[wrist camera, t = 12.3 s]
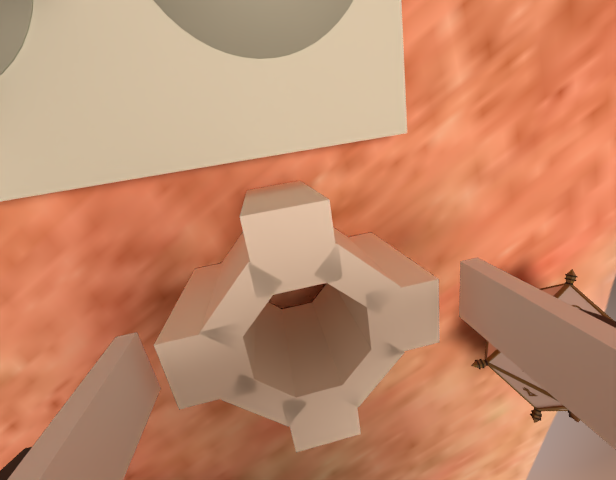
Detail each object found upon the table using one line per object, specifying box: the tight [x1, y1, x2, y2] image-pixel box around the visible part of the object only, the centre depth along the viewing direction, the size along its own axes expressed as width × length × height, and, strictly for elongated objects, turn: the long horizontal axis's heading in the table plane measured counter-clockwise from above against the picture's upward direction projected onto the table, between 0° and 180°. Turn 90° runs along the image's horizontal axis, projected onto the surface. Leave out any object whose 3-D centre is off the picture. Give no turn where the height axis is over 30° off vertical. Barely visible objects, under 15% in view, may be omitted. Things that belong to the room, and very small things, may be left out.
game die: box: [471, 269, 614, 423], centre depth 18 cm, size 9×8×10 cm
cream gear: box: [154, 181, 439, 452], centre depth 14 cm, size 11×11×7 cm
